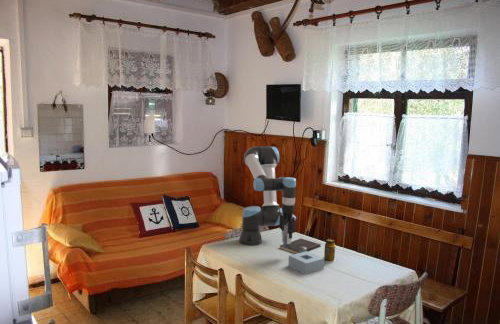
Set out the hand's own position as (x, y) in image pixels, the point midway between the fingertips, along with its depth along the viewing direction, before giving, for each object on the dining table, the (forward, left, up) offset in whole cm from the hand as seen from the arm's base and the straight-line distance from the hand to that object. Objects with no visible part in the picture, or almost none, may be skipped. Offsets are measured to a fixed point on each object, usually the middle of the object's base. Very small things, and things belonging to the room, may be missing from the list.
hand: (286, 242), depth 244 cm
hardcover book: (-10, +21, -11) cm, 25 cm away
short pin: (+4, +10, -10) cm, 15 cm away
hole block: (+17, 0, -10) cm, 20 cm away
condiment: (+15, +20, -10) cm, 27 cm away
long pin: (0, 0, -3) cm, 3 cm away
